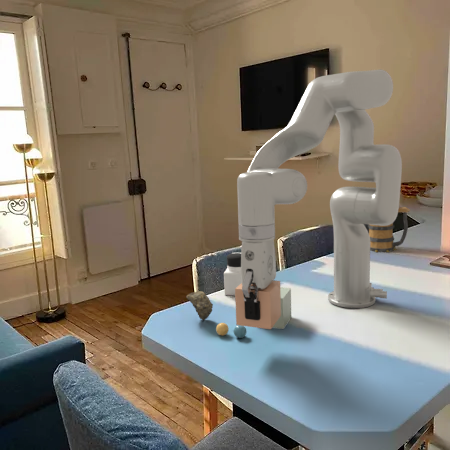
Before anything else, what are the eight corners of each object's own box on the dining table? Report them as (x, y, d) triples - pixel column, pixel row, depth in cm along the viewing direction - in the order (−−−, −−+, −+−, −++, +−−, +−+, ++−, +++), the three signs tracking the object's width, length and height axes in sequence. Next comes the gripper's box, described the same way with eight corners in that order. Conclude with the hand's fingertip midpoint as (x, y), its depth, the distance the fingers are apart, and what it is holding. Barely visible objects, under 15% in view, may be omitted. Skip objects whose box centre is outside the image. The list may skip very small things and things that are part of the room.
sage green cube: (291, 317, 115) (290, 288, 113) (283, 329, 108) (282, 298, 106) (263, 314, 118) (262, 285, 116) (254, 325, 111) (252, 295, 109)
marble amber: (229, 334, 107) (231, 322, 107) (225, 338, 104) (226, 326, 104) (218, 331, 108) (219, 319, 108) (213, 335, 106) (214, 323, 105)
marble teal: (239, 337, 106) (250, 332, 105) (235, 341, 103) (246, 337, 102) (234, 325, 106) (244, 321, 105) (229, 330, 104) (240, 325, 103)
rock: (183, 290, 112) (198, 281, 113) (188, 301, 119) (202, 291, 120) (198, 313, 109) (213, 303, 110) (202, 322, 116) (216, 312, 117)
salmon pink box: (280, 315, 98) (280, 280, 96) (270, 329, 91) (270, 292, 89) (248, 311, 101) (247, 278, 99) (236, 324, 94) (235, 288, 92)
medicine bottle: (248, 296, 132) (246, 257, 129) (224, 295, 133) (222, 257, 131) (251, 288, 139) (250, 251, 136) (229, 287, 140) (227, 250, 138)
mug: (369, 245, 184) (369, 197, 180) (413, 249, 174) (414, 199, 171) (358, 252, 174) (359, 202, 170) (404, 257, 164) (406, 204, 160)
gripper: (261, 241, 83) (263, 330, 86) (285, 224, 99) (286, 300, 102) (224, 239, 86) (227, 325, 89) (253, 223, 102) (255, 297, 105)
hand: (258, 311), depth 95 cm, fingers closed on salmon pink box, 7 cm apart
